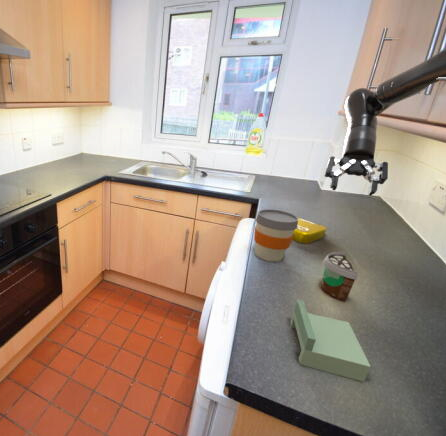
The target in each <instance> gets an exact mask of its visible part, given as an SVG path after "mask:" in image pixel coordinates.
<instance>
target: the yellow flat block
mask: <svg viewBox="0 0 446 436" xmlns="http://www.w3.org/2000/svg"><path fill="white" fill-rule="evenodd" d="M297 218H298V225H297V229H295V231H294V237H293V239H292V241H294V242H297V243H299V244H303V245H307V244H311V243H313V242H315V241H318V240H320V239H323V238H324V237H325V234H326V231H327V227H326V226H325V225H321V224H318V223H316V222H312V221H309V220H306V219H304V218H301V217H297Z"/></svg>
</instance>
